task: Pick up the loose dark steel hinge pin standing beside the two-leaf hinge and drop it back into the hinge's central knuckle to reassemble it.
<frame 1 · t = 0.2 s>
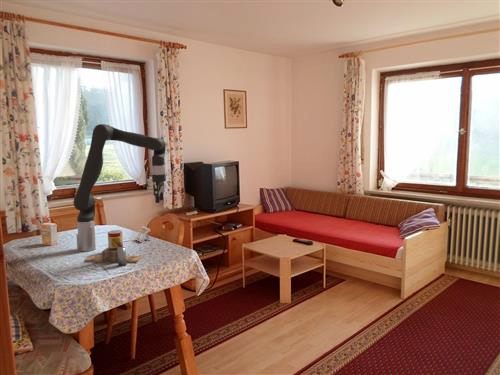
hand: (159, 201, 222), 29 cm above the table, fingers open, 8 cm apart
hinge: (113, 260, 209), on the table
portable electronic device stand: (143, 241, 248), on the table
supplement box: (50, 244, 241), on the table
hinge pin: (122, 265, 201), on the table
canned food: (116, 252, 224), on the table
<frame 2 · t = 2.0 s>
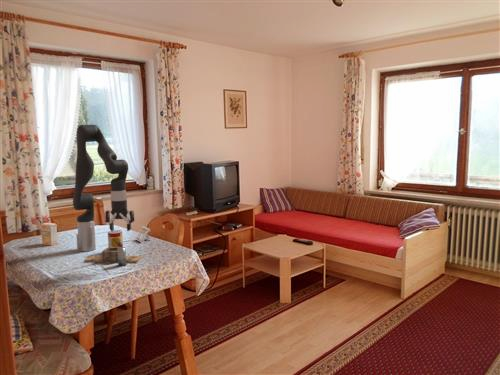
hand: (120, 230, 198), 18 cm above the table, fingers open, 8 cm apart
nothing on the table moved.
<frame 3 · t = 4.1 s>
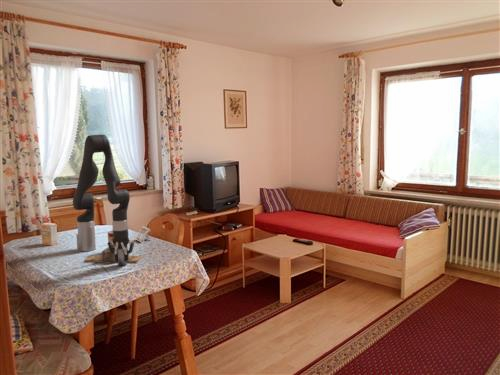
hand: (122, 260, 200), 2 cm above the table, fingers closed on hinge pin, 4 cm apart
hinge pin: (122, 265, 201), on the table, touching gripper
everything else where it was.
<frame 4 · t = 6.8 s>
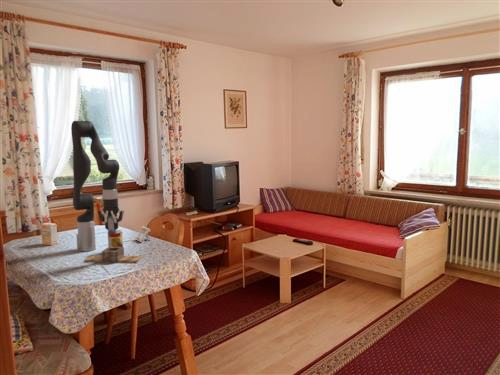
hand: (111, 229, 207), 17 cm above the table, fingers closed on hinge pin, 4 cm apart
hinge pin: (112, 233, 207), point 15 cm above the table, touching gripper
everything else where it was.
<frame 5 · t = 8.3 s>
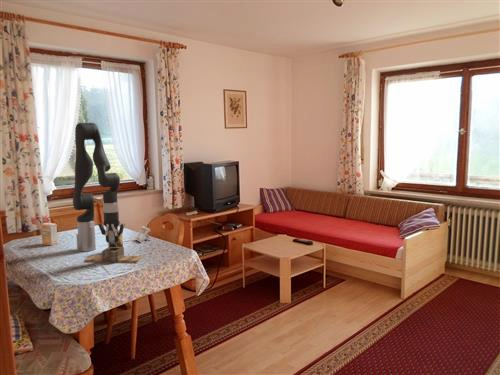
hand: (112, 242, 208), 10 cm above the table, fingers closed on hinge pin, 4 cm apart
hinge pin: (112, 246, 208), point 8 cm above the table, touching gripper
everything else where it was.
when the fingers open (7 cm above the table, at t = 9.5 s): hinge pin drops 4 cm, resting in hinge.
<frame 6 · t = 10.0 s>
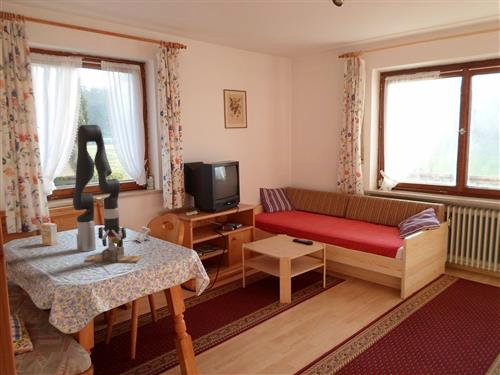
hand: (112, 246, 208), 8 cm above the table, fingers open, 8 cm apart
hinge pin: (113, 260, 209), resting in hinge
everything else where it was.
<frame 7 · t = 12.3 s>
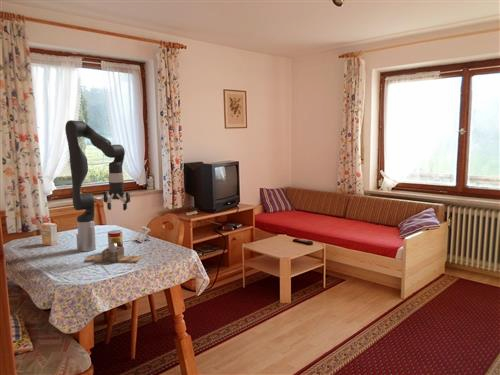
hand: (117, 210, 216), 26 cm above the table, fingers open, 8 cm apart
nothing on the table moved.
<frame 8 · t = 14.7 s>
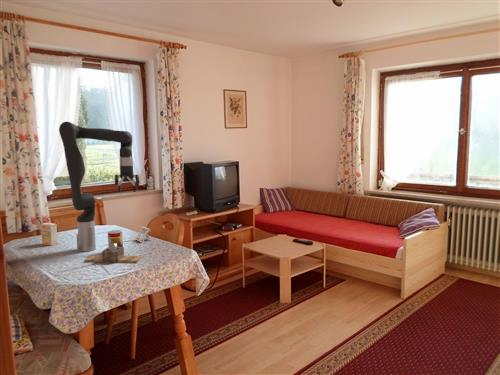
hand: (127, 191, 234), 33 cm above the table, fingers open, 8 cm apart
nothing on the table moved.
at the end: hinge pin 0.1 cm off-centre on the hinge, point 0.0 cm above the hinge's base; hinge pin tilted 1°; the gripper is holding nothing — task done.
